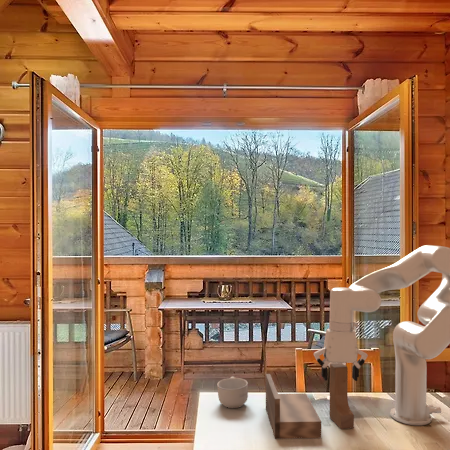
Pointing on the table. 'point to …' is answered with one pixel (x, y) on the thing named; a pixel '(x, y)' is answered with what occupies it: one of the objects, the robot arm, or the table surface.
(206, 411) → the table surface
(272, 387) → the walnut shelf
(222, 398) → the teacup
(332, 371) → the wooden block
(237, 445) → the table surface
